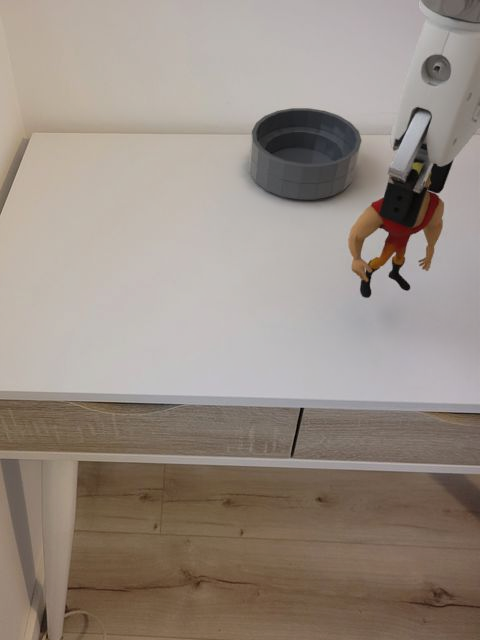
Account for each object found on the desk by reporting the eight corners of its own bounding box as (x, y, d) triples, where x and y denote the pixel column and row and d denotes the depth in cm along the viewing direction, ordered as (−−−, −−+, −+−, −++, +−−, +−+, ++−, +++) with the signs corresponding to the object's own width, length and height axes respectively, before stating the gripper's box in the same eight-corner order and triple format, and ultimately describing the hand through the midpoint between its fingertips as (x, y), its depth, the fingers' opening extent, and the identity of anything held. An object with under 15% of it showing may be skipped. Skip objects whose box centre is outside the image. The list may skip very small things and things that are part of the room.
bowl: (282, 133, 91) (287, 97, 87) (370, 165, 85) (379, 129, 81) (229, 178, 84) (231, 142, 80) (320, 216, 78) (327, 179, 74)
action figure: (345, 306, 62) (379, 184, 50) (332, 281, 64) (362, 159, 52) (432, 290, 63) (486, 167, 51) (417, 266, 65) (465, 143, 53)
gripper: (491, 49, 36) (410, 273, 50) (576, -43, 44) (485, 171, 58) (373, 19, 39) (328, 238, 53) (473, -62, 47) (411, 146, 61)
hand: (411, 201), depth 55 cm, fingers closed on action figure, 5 cm apart
